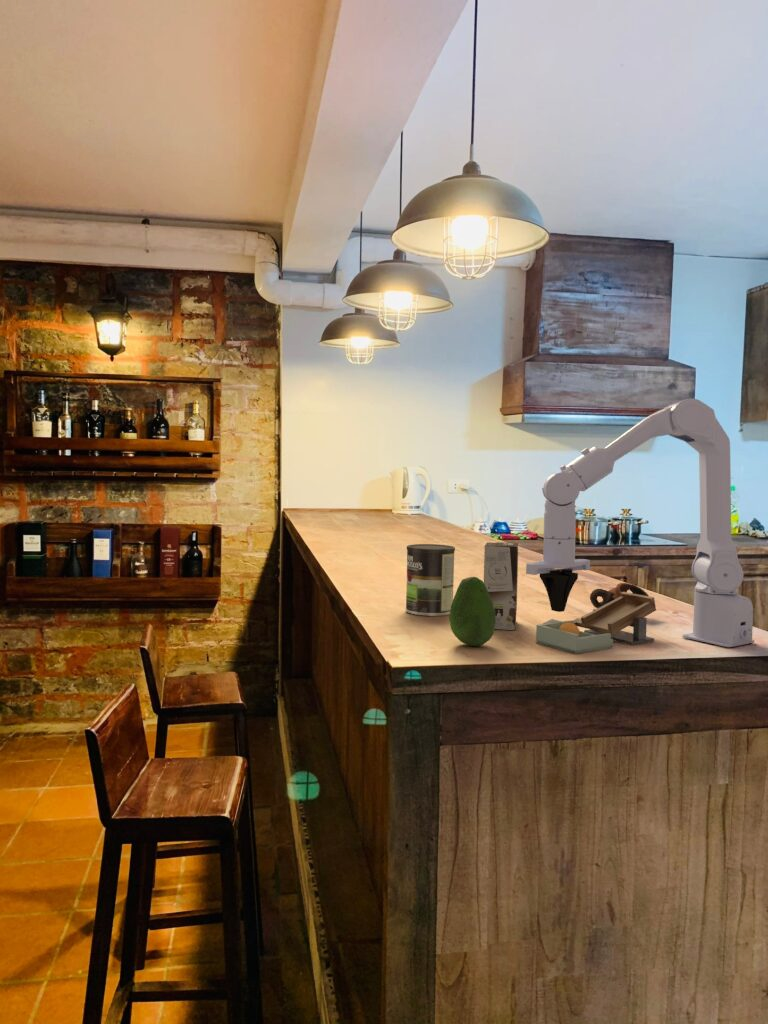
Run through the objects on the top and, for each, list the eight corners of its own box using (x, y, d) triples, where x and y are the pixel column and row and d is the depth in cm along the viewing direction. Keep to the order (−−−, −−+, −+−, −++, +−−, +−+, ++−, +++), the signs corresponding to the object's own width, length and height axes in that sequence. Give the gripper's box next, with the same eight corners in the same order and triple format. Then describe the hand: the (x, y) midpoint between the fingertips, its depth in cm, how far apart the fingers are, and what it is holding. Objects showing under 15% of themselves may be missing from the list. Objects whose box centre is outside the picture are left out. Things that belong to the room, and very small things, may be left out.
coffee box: (515, 631, 142) (517, 546, 141) (481, 629, 143) (483, 545, 143) (517, 621, 151) (518, 541, 150) (484, 619, 152) (486, 540, 151)
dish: (612, 647, 129) (613, 629, 129) (575, 654, 124) (575, 634, 124) (573, 637, 137) (573, 620, 137) (536, 642, 132) (536, 624, 132)
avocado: (465, 638, 135) (466, 572, 134) (503, 645, 130) (504, 576, 129) (439, 646, 129) (441, 576, 128) (478, 653, 124) (480, 581, 123)
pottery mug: (631, 614, 163) (648, 585, 159) (641, 642, 155) (659, 612, 151) (579, 600, 162) (595, 570, 158) (587, 627, 154) (603, 596, 150)
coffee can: (419, 617, 153) (420, 549, 153) (397, 609, 163) (398, 544, 162) (462, 614, 158) (464, 548, 157) (438, 606, 167) (440, 543, 166)
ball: (566, 637, 128) (577, 648, 129) (575, 620, 129) (586, 631, 131) (551, 633, 131) (562, 644, 132) (560, 616, 132) (571, 627, 133)
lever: (658, 615, 138) (655, 597, 137) (600, 648, 130) (597, 629, 129) (598, 603, 149) (596, 586, 149) (542, 632, 141) (539, 615, 141)
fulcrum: (654, 641, 135) (654, 617, 134) (631, 645, 131) (632, 620, 131) (606, 630, 144) (606, 607, 144) (584, 633, 141) (584, 610, 140)
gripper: (571, 534, 146) (569, 604, 147) (515, 537, 138) (513, 610, 139) (599, 537, 140) (597, 609, 141) (542, 540, 132) (541, 617, 133)
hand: (557, 610), depth 139 cm, fingers closed
